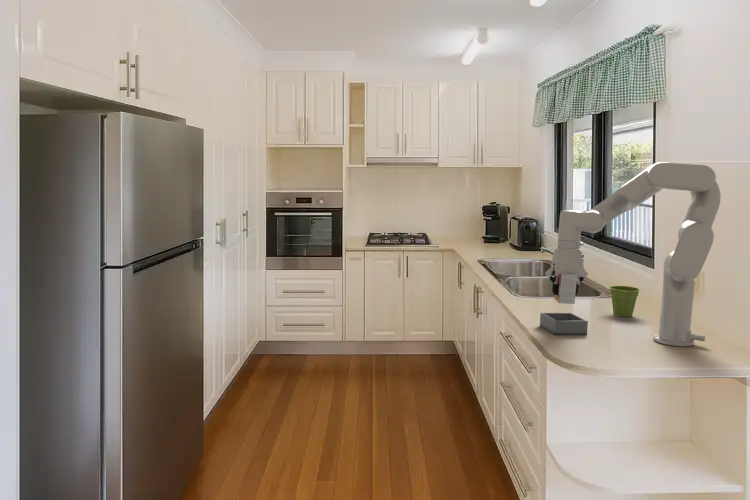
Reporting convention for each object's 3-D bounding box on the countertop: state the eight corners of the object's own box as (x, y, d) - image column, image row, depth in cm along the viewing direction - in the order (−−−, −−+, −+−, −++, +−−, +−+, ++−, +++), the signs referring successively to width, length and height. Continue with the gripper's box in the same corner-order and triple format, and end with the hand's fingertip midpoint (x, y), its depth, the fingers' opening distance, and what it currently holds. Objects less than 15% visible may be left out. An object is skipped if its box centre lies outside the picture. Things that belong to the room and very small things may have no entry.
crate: (570, 325, 231) (571, 312, 230) (586, 334, 218) (587, 321, 217) (539, 326, 229) (540, 312, 229) (554, 335, 216) (555, 321, 216)
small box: (553, 298, 227) (556, 270, 225) (569, 299, 226) (571, 271, 225) (558, 303, 219) (561, 274, 217) (574, 304, 218) (577, 274, 217)
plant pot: (608, 310, 260) (610, 284, 259) (638, 314, 255) (641, 287, 254) (605, 316, 250) (607, 288, 248) (637, 320, 245) (639, 291, 243)
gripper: (586, 244, 225) (582, 292, 227) (541, 243, 222) (537, 292, 225) (596, 246, 217) (592, 297, 220) (549, 245, 215) (546, 296, 217)
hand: (564, 294), depth 222 cm, fingers closed on small box, 6 cm apart
